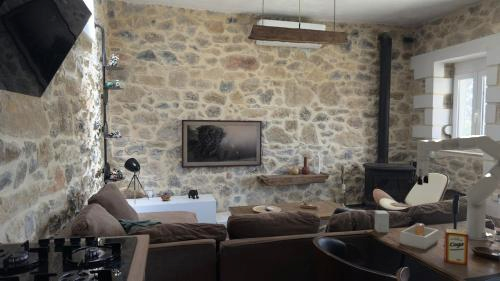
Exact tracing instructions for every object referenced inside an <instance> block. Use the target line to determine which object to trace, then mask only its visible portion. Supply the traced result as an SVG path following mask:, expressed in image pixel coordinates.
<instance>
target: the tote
mask: <svg viewBox="0 0 500 281" xmlns="http://www.w3.org/2000/svg"><path fill="white" fill-rule="evenodd" d="M399 233H400V235H399V237H400V238H399V239H400V241H399V243H401V245H404V246H408V247H412V248H416V249H420V250H425V249H426V250H427V249H429V248H430V247H432V246H435V245H436V244H437V243H438V242H439V229H435V228H431V227H425V226H424V237H423V236H419V235H415V224H413V225H411V226H410V227H408V228H405V229H403V230H401V231H400V232H399Z"/></svg>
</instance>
